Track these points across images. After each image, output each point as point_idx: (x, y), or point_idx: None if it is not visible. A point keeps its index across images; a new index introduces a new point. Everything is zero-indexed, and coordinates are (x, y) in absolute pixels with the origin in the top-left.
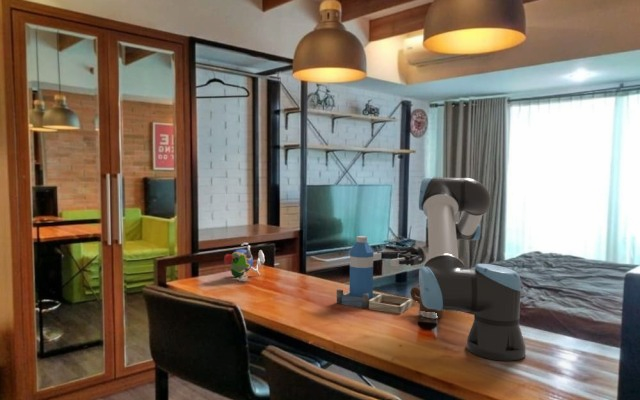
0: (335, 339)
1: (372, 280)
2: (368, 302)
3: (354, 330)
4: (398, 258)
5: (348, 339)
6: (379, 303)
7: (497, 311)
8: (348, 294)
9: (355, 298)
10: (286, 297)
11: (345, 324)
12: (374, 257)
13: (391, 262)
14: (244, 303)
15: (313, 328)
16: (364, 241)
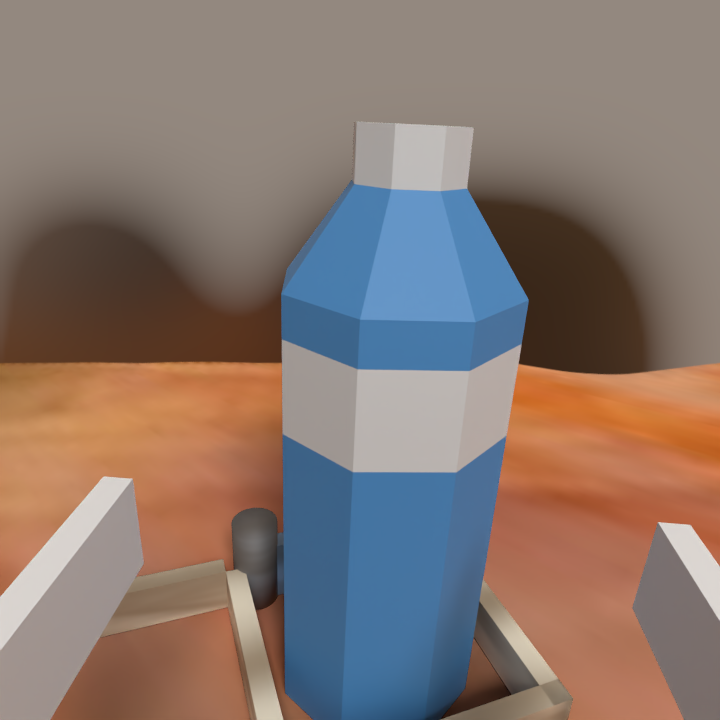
0: (130, 368)
1: (284, 540)
2: (234, 569)
3: (116, 414)
4: (43, 582)
5: (95, 380)
6: (146, 576)
7: None
8: (479, 609)
9: None
10: (642, 467)
11: (179, 426)
12: (695, 673)
13: (133, 517)
14: (590, 379)
15: (239, 376)
16: (353, 169)
